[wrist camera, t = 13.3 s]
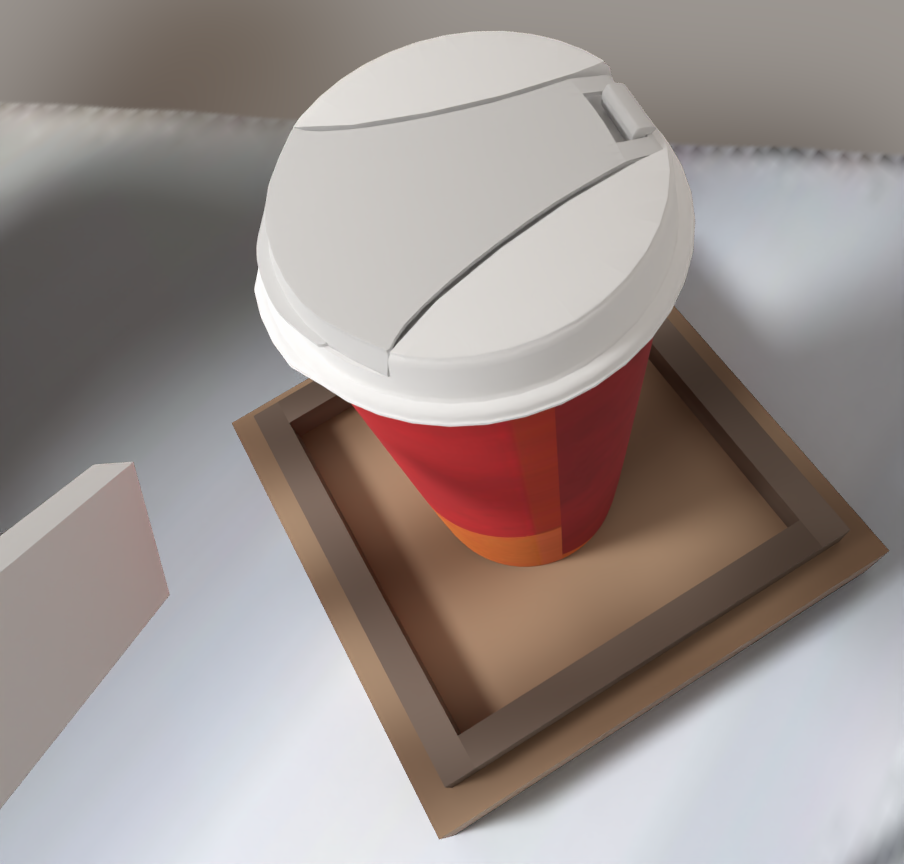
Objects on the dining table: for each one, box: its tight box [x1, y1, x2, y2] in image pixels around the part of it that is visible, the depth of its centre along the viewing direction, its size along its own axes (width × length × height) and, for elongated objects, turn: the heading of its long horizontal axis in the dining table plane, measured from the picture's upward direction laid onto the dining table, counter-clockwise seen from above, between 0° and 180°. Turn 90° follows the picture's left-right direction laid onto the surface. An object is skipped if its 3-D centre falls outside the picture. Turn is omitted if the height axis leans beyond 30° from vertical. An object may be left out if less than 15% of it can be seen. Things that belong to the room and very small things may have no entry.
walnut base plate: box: [232, 306, 889, 839], centre depth 28 cm, size 16×16×4 cm
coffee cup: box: [254, 31, 695, 567], centre depth 21 cm, size 8×8×15 cm
